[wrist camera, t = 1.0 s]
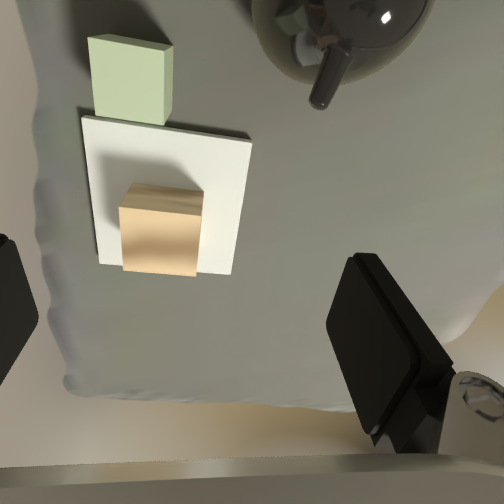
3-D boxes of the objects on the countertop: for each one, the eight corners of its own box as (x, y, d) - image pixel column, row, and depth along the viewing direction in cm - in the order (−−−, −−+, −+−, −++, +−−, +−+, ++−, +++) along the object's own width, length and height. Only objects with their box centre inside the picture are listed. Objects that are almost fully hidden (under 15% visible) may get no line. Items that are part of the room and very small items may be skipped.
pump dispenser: (224, 38, 26) (223, 59, 14) (291, -131, 21) (381, -329, 9) (327, 100, 30) (399, 160, 17) (406, -34, 25) (588, -83, 12)
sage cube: (109, 33, 26) (87, 37, 22) (173, 45, 27) (164, 51, 23) (113, 101, 29) (95, 115, 25) (172, 110, 29) (163, 125, 25)
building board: (85, 114, 29) (81, 117, 28) (251, 139, 31) (252, 143, 31) (102, 258, 38) (99, 263, 37) (230, 269, 40) (230, 274, 40)
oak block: (132, 182, 32) (118, 206, 28) (204, 191, 33) (201, 216, 29) (134, 241, 36) (123, 270, 32) (199, 247, 37) (195, 276, 33)
